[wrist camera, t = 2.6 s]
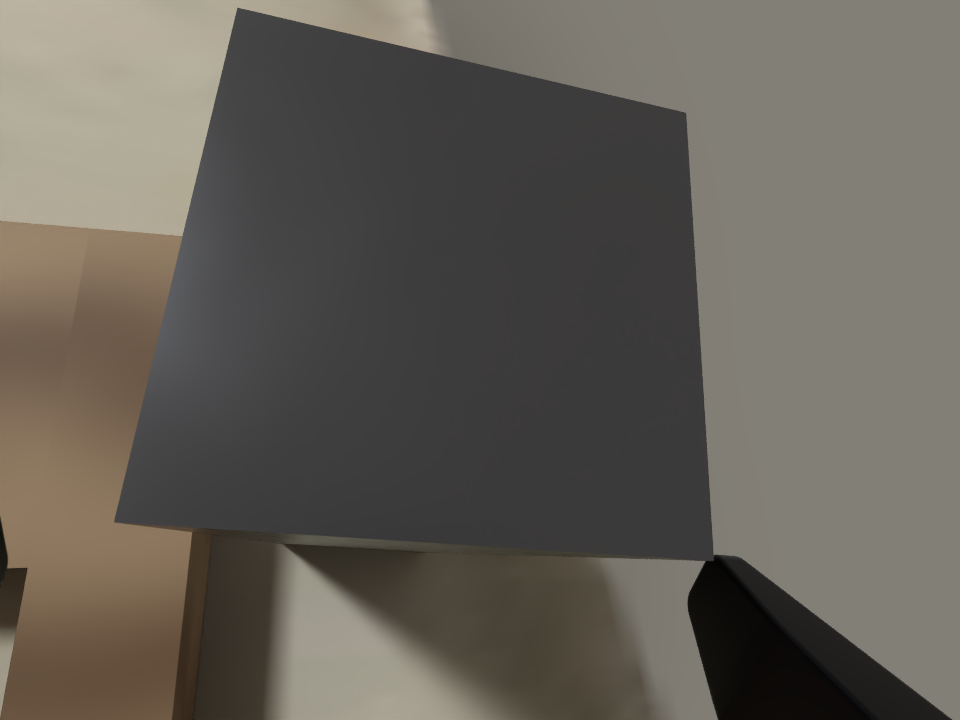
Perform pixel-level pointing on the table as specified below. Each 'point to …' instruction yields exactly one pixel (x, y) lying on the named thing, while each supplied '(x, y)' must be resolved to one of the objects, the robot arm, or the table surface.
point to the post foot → (89, 482)
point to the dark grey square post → (428, 314)
